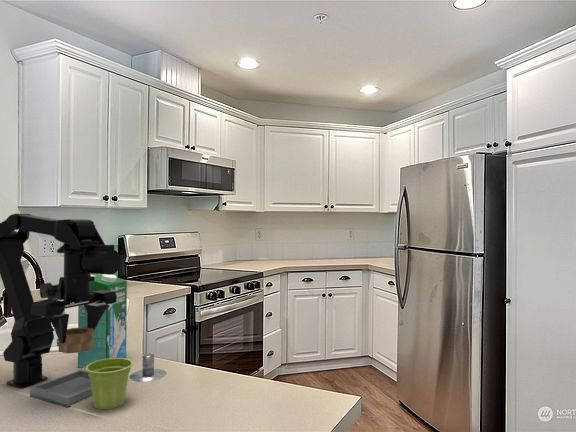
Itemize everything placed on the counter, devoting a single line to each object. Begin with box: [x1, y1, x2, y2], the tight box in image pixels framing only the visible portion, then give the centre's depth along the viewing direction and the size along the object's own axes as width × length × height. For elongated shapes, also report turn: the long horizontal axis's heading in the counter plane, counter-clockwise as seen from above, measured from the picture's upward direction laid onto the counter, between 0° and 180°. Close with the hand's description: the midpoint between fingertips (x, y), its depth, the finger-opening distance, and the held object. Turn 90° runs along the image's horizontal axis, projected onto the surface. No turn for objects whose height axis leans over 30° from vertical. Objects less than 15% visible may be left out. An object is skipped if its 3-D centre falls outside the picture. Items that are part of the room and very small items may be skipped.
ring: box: [56, 327, 94, 355], centre depth 99 cm, size 7×9×4 cm
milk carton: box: [77, 273, 128, 368], centre depth 117 cm, size 9×9×25 cm
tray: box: [29, 369, 92, 408], centre depth 98 cm, size 13×13×2 cm
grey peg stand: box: [128, 353, 167, 383], centre depth 107 cm, size 9×9×5 cm
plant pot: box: [85, 357, 134, 410], centre depth 91 cm, size 9×9×9 cm
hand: (76, 339), depth 98 cm, fingers closed on ring, 7 cm apart
